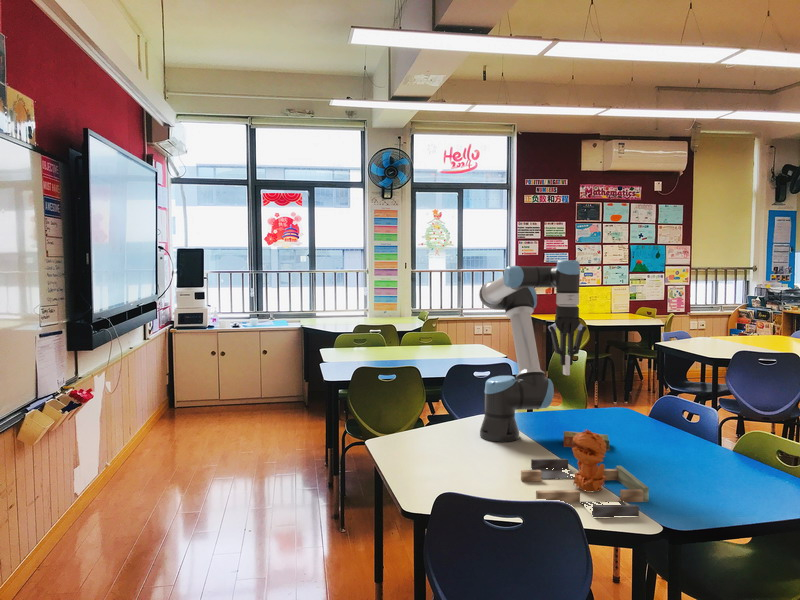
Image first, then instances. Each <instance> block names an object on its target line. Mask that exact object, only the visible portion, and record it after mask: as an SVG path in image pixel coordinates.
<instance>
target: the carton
mask: <svg viewBox="0 0 800 600" xmlns="http://www.w3.org/2000/svg"><path fill="white" fill-rule="evenodd" d="M579 433H582V432H579V431H567V430H564V431H563V448H574V447H575V446H576V447H581V448H583V447H584V446H581V445H577V444H576V443H575V442H573V437H575V436H576V435H577V434H579ZM598 434H599V435H600V436H601V437H602V438H603V439H604V441H605V443H606V446H605V448H606V452H608V451H610V450H611V447H610V444H611V443H610V439H609V434H602V433H601V434H600V433H598Z"/></svg>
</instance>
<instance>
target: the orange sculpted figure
mask: <svg viewBox="0 0 800 600" xmlns="http://www.w3.org/2000/svg"><path fill="white" fill-rule="evenodd" d="M599 434H600V433H596V432H592V431H591V430H589V429H588V428H586V429H583V431H582V432H581V433H579V434H577V435H576V436H575V437H573V442H575V443H576V444H577V445H581V446H584V447H583V448H581V447H576V446H575V447H574V448H573V447H571V451H572V453H573V457H574V458H575V459H576V460H577V467H578V469H580V471H579V472H578V471H577V472H575V473H574V474H575V478H574V479H573V480H574V481H573V485H575V487H576V488H578V489H580V488H581V489H582V490H581V489H580V490H581V491H583V490H586V491H598V490H599V491H602V490H603V487H605V486H606V484H605V481H607V480H606V477H605V476H604V469H606V466H605V464H604V463H602V462H604V458H605V457H606V456H605V455H606V453H607V450H606V448H605V446H606V443H605V441H604V439H603V438H602V437H601V436H600V435H599ZM598 464H599V465H598ZM586 491H585V492H586ZM599 491H598V492H599Z"/></svg>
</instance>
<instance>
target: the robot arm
mask: <svg viewBox="0 0 800 600" xmlns="http://www.w3.org/2000/svg"><path fill="white" fill-rule="evenodd" d="M580 268H581V267H580V261H578V260H575V259H574V260H571V259H570V260H569V259H568V260H566V259H565V260H564V259H563V260H561V259H560V260H557V262H556V265H555V266H552V265H551V266H546V265H545V266H543V265H542V266H541V265H540V266H539V265H538V266H537V265H534V266H532V265H531V266H526V265H520V266H519V265H511V266H507V267H506V268H504V271H503V275H502V276H500V277H498V278H497V279H496V280H490V281H488V282H486V283H484V284H483V285H482V286H481V287H480V290H479V293H478V294H479V295H478V296H479V299H480V301H481V303H482V304H483V305H484V306H485V307H486V308H488V309H492V310H496V311H497V310H499V311H500V310H501V311H502V310H503V311H505V316H506V317H507V318H509V319H510V326H511V332H512V337H513V338H512V339H513V344H514V349H515V350H514V351H515V357H516V358H515V359H516V362H517V364H516V365H517V370H518V373H517V374H516V375H515V376H513V375H497V376H492V377H490V378H488V379H487V380H485V383H484V384H485V386H484V391H483V392H484V417H483V420H482V424H481V425H480V429H479V436H481V437H480V438H482V439H483V440H486V441H490V442H496V441H497V442H498V443H499V442H500V443H508V442H507V441H510V442H515V441H517V440H519V439H520V431H519V426H518V424H517V420H516V411H517V410H518V411H519V410H541V409H543V410H544V409H548V408H549V407H550V406H551V404H552V402H553V399H554V394H555V393H554V384H553V381H552V380H551V379H550V378H547V377H546V372H545V371H543V370H542V369H541V367H540V366H541V365H540V359H539V356H538V355H539V354H538V349H537V343H536V336H535V331H534V325H533V320H532V314H533V313H534V311H535V308H536V307H537V303H538V301H537V300H538V295H537V291H536V289H535V288H552V289H556V290H555V291H556V295H555V304H556V305H557V306H556V307H555V319H554V323H553V324H551V325H548V326H547V329H548V330H549V332H550V335H551V340H552V344H553V349H554V353H555V354H558V355H559V356H560V358H559V362H560V363H559V364H560V365H561V366H562V374H563V375H565V376H570V375H571V366H572V365H573V361H574V360H573V359H574V356H575V355H577V354H579V352H580V348H581V345H582V341H583V336H584V333H585V332H586V330H587V329H588V328H587V326H586V325H583V324H582V323H581V321H580V308H579V306H578V305H580V283H581V281H580V279H581V278H580V277H581V276H580V275H581V270H580ZM557 330H558V331H559V335H560V336H559V339H560V340H559V339H558V334H557ZM576 331H577V332H576ZM575 332H576V337H575V339H574V336H575ZM514 440H515V441H514ZM497 442H496V443H497Z"/></svg>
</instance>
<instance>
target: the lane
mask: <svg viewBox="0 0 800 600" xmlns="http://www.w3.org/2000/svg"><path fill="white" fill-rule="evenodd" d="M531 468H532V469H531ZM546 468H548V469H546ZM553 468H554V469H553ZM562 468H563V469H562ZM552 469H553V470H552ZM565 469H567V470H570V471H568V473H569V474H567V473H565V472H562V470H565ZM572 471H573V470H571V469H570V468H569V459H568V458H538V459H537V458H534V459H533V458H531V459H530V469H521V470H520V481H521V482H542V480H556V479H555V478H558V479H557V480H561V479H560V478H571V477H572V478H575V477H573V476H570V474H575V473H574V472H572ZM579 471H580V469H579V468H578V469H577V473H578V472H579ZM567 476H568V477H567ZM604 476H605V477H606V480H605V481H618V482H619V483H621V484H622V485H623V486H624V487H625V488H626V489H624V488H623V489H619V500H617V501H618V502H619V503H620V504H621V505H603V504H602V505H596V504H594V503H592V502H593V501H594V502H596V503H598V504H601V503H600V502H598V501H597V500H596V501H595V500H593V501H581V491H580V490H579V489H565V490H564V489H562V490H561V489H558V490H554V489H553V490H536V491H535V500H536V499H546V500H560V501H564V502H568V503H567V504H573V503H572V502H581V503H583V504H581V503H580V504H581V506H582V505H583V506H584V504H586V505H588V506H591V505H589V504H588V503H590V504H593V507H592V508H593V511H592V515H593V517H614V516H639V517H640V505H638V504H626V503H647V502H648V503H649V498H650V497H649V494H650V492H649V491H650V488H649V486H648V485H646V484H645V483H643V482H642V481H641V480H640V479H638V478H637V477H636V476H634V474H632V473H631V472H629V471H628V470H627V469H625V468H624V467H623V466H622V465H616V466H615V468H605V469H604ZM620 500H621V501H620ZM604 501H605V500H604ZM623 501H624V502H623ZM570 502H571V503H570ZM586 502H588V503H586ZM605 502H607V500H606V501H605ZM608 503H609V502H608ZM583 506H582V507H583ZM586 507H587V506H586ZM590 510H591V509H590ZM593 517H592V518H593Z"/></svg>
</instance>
